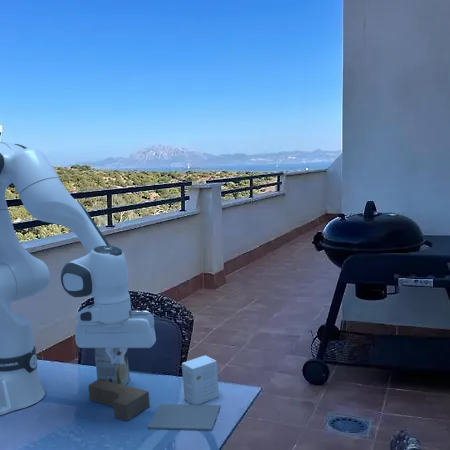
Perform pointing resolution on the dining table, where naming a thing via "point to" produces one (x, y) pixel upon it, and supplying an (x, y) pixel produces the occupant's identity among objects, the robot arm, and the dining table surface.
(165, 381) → the dining table surface
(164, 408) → the mat
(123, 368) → the coffee box
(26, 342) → the robot arm
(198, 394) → the small box
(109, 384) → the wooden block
